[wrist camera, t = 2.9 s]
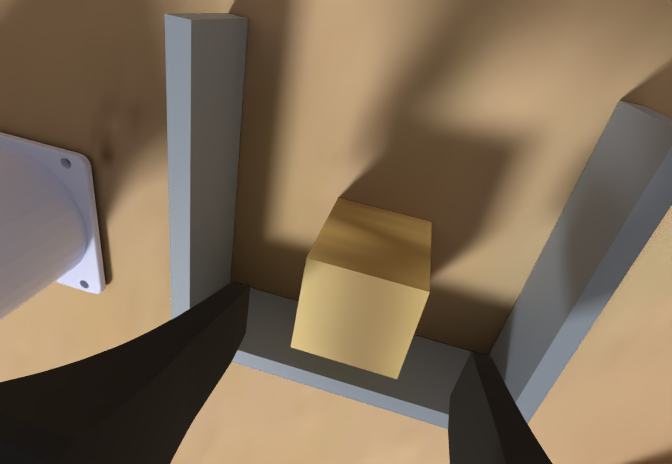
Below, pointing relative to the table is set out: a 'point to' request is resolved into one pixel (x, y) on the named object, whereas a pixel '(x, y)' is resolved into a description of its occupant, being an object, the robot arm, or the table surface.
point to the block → (364, 287)
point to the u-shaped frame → (423, 354)
